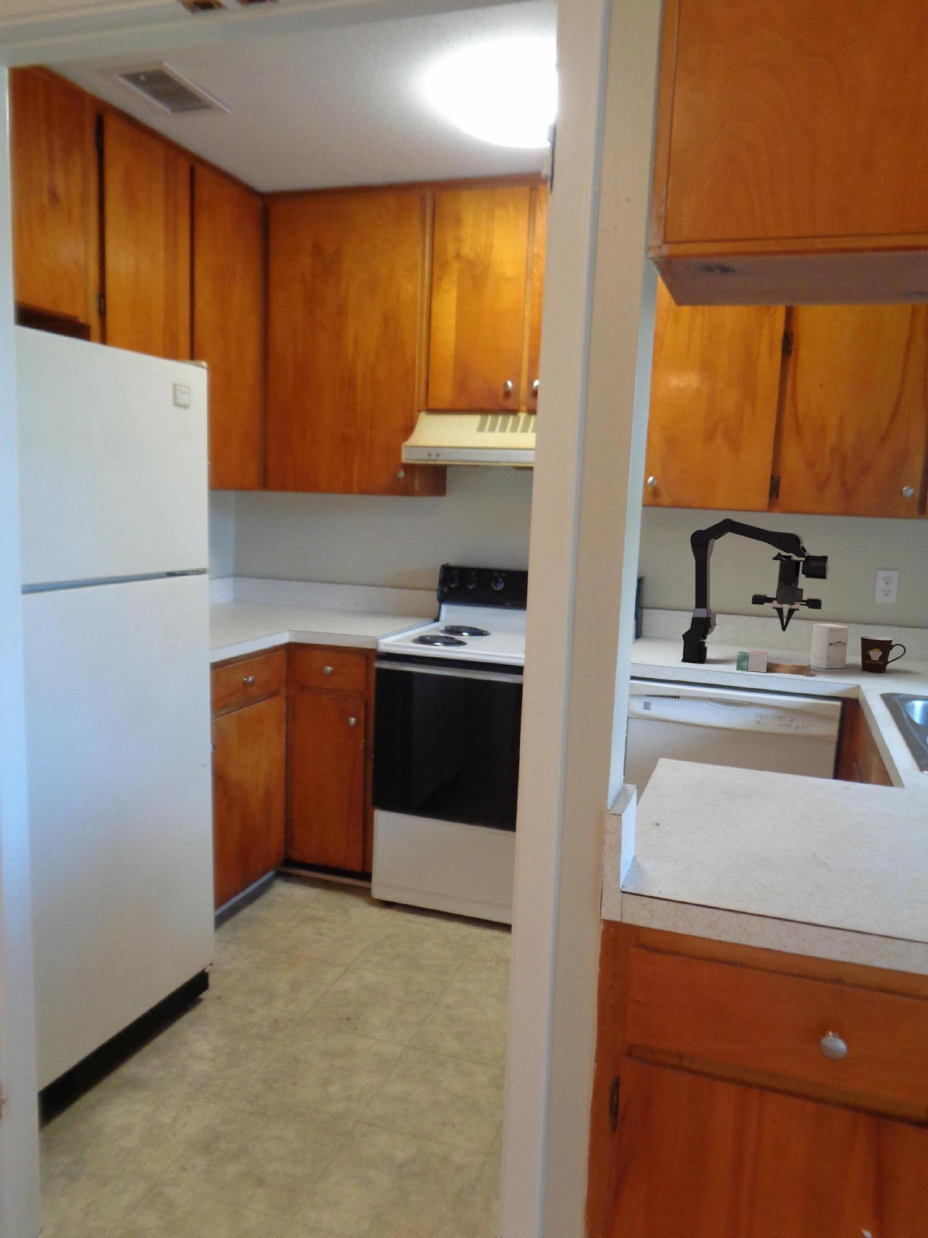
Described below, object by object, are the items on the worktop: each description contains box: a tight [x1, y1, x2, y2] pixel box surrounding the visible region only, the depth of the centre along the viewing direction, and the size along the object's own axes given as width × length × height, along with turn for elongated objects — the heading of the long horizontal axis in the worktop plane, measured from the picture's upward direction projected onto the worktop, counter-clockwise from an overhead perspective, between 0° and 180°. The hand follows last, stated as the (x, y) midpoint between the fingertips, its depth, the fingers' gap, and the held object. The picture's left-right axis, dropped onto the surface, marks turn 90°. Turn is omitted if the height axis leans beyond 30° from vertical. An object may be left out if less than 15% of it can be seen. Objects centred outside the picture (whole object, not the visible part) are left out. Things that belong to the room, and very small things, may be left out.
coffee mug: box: [860, 635, 907, 674], centre depth 263 cm, size 12×9×10 cm
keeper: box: [747, 649, 769, 673], centre depth 259 cm, size 5×7×5 cm
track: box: [735, 650, 812, 677], centre depth 258 cm, size 20×7×4 cm, turn 69°
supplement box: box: [809, 623, 850, 669], centre depth 270 cm, size 7×7×13 cm
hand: (783, 631), depth 257 cm, fingers closed
